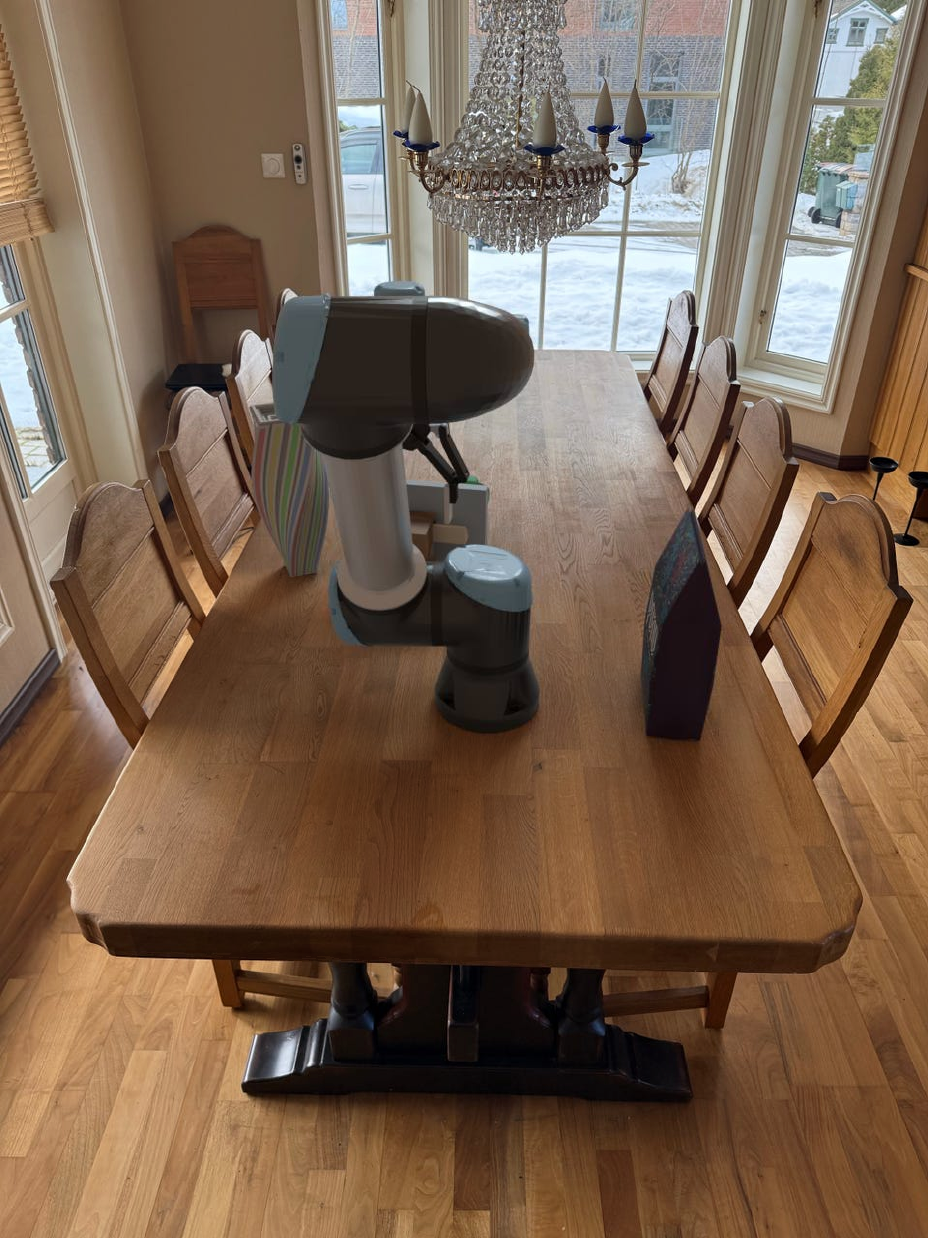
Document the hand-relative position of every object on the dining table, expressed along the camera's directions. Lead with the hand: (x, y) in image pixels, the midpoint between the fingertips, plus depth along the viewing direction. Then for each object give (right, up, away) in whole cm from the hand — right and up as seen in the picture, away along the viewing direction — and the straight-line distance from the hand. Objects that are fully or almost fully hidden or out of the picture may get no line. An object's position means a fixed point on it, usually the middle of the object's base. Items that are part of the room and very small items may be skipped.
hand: (408, 517), depth 144 cm
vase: (-21, -8, +16) cm, 27 cm away
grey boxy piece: (+2, -8, +15) cm, 17 cm away
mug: (+10, 0, +28) cm, 30 cm away
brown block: (0, -9, +8) cm, 12 cm away
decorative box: (+39, -29, -18) cm, 52 cm away
